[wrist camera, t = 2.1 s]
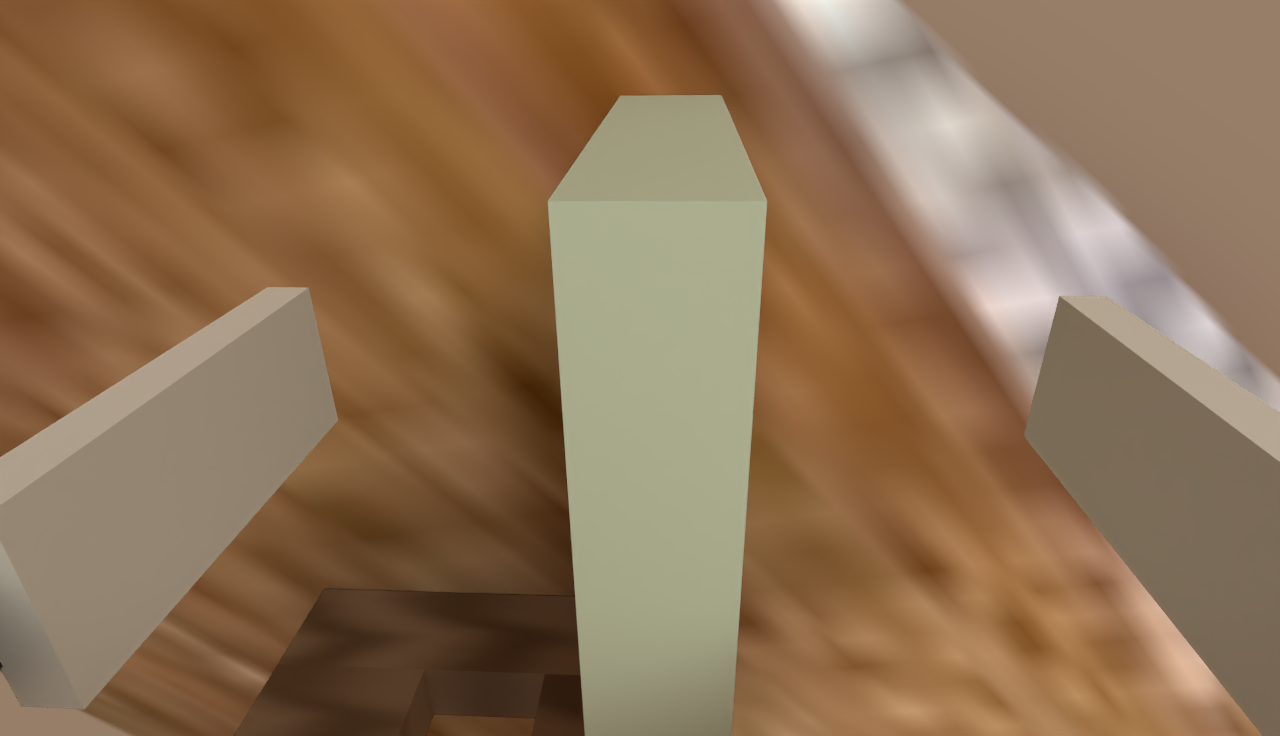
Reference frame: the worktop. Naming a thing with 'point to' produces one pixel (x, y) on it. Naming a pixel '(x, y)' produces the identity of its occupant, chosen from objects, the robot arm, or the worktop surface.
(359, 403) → the worktop surface
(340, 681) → the walnut slotted plate
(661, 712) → the sage slotted plate
